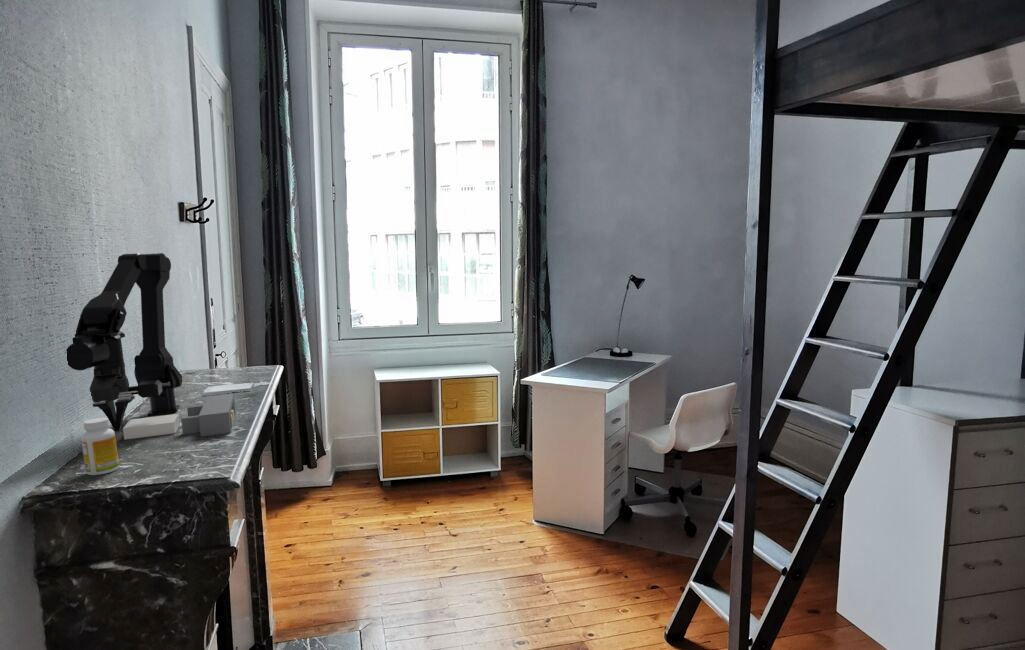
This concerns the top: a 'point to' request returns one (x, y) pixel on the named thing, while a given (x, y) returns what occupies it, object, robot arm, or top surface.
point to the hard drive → (228, 389)
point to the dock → (210, 416)
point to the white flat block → (151, 426)
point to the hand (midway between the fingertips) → (117, 430)
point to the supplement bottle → (99, 447)
